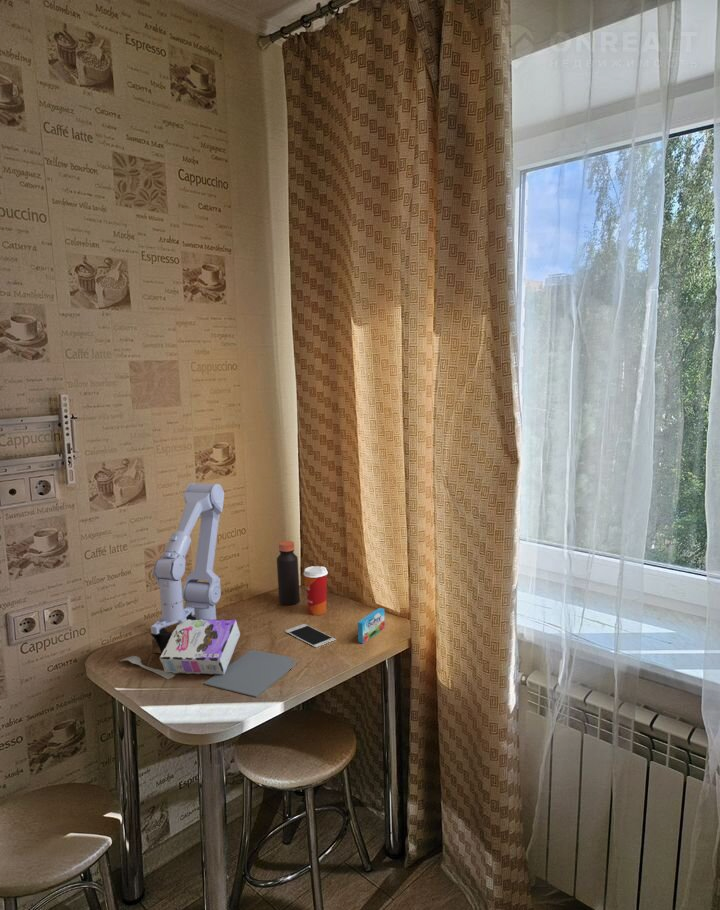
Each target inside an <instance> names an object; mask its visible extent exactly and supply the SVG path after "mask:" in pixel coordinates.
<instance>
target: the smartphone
mask: <svg viewBox="0 0 720 910" xmlns="http://www.w3.org/2000/svg"><path fill="white" fill-rule="evenodd" d="M284 633H286V634H287V633H289V634H291V635H292V636H291V635H290V636H291V637H293V636H294V637H293V638H295V637H296V638H295V639H297V638H298V640H299V639H300V640H299V641H301V640H302V641H301V642H303V641H304V642H306V643H308V644H310V645H312V646H314V647H318V646H321V645H324V644H326V643H328V642H331V641H334V640H336V641H337V639H336V637H335V638H334V637H333V636H331V635H329V634H327V635H326V633H325V632H322V631H320V630H318V629H317V628H315V627H312V626H311V625H308V624H306V623H302V624H300V625H296V626H295V627H294V626H293V627H291V628H287V629H285V631H284ZM289 634H288V635H289ZM329 638H330V640H329ZM304 642H303V643H304ZM334 642H335V641H334ZM306 643H305V644H306ZM308 644H307V645H308ZM310 645H309V646H310ZM312 646H311V647H312ZM324 646H325V645H324ZM314 647H313V648H314Z"/></svg>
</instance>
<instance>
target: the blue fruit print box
mask: <svg viewBox="0 0 720 910" xmlns="http://www.w3.org/2000/svg"><path fill="white" fill-rule="evenodd" d="M385 610H386V609H385V608H383V607H379V608H377V609H375V610H374V611H372V612H370V613H369V614H368V615H366V616H365V617H363V618H362V619H360V620H359V621H358V622H357V638H358V641H357V642H358V643H359V644H365V643H367V642H369V641H370V639H372V638H374V637H375V636H377V634H380V633H381V632H382V631H383V630H385V628H386V616H385V615H386V614H385V613H386V612H385ZM373 636H374V637H373ZM366 641H367V642H366Z"/></svg>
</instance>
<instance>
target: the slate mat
mask: <svg viewBox="0 0 720 910" xmlns="http://www.w3.org/2000/svg"><path fill="white" fill-rule="evenodd" d="M291 658H292V659H293V661H295V660H296V659H297V661H300V660H301V659H300V660H299V658H295V659H294V657H291V656H290V657H289V656H286V655H280V654H276V653H271V652H267V651H266V652H265V651H262V650H257V649H251V650H249V651H248V652H246V653H245V654H243V655H242V656H240V657H239V658H238V659H236V660H234V662H232V663H229V664H228V667H227V670H226V672H225V674H224V675H213V676H212V677H210V678H209V679H207V680H206V681H204V682H203V683H202V684H203V685H205V686H209V687H213V688H216V689H217V688H218V689H220V690H224V691H225V690H226V691H229V692H233V693H237V694H241V695H244V696H249V697H253V698H258V697H259V696H260V695H262V694H263V693H264V692H265V691H267V689H269V688H270V687H272V686H273V685H274V684H275V683H277V682H278V681H279V680H280V679H282V677H284V676H285V675H286V674H288V673H289V672H290V671H291V670H292V669H294V668H295V667H296V666H297V665H296V664H295V663H296V662H295V663H292V659H291ZM290 661H291V662H290ZM289 662H290V663H289ZM295 665H296V666H295ZM294 666H295V667H294ZM293 667H294V668H293ZM291 668H292V669H291ZM290 669H291V670H290ZM289 670H290V671H289ZM288 671H289V672H288Z"/></svg>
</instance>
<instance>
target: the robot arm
mask: <svg viewBox="0 0 720 910" xmlns="http://www.w3.org/2000/svg"><path fill="white" fill-rule="evenodd" d="M184 491H185V492H184V494H183V500H184V503H185V506H184V508H183V512H182V515H181V518H180V522H179V524H178V528H177V531H175V532H172V533H171V535H170V537H169V538H168V542H167V543H166V546H165V549H164V552H163V553H162V557H160V558H159V559H157V560H156V562H155V563H154V565H153V570H152V573H153V576H154V578H155V580H156V585H158V586H159V597H160V608H161V609H160V610H161V618H159V619H158V620H157V621H156V622H155V623H154V624H153V625H151V626H150V635H151V636H152V637H153V639H155V640H156V642H157V643H158V645H159V648H160V650H161V653H160V654H162V652H163V651H164V649H165V647H166V645H167V643H168V641H169V639H170V637H171V635H172V633H173V632H171V631H168V630H167V628H169V627H171V626H173V625H175V624H176V625H177V623H179V622H184V621H186V620H217V610H216V607H217V606H216V604H218V602H219V601H220V598H221V595H222V588H221V578H220V576H218V575H217V574H216V573H215V572H214V565H215V564H214V563H215V557H216V548H217V541H218V540H217V539H218V531H219V525H220V524H219V523H220V515H221V513H223V510H224V509H223V507H224V502H225V492H224V489H223V487H222V485H221V484H219V483H214V484H212V483H193V482H191V483H189V484H188V485H187V486H186V488H185V490H184ZM199 517H201V518H200V525H199V526H200V527H199V533H198V539H197V540H198V542H197V549H196V556H195V564H194V570H193V571H192V572H190V573H189V574H188V575H187V576H186V577H185V583H184V585H183V587H182V577H183V576H184V574H185V572H186V556H187V554H188V551H189V549H190V546H191V543H192V538H191V536H190V535H191V534H192V531H193V530H194V528H195V525H196V523H197V522H198V519H199ZM184 601H185V604H184Z"/></svg>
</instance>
